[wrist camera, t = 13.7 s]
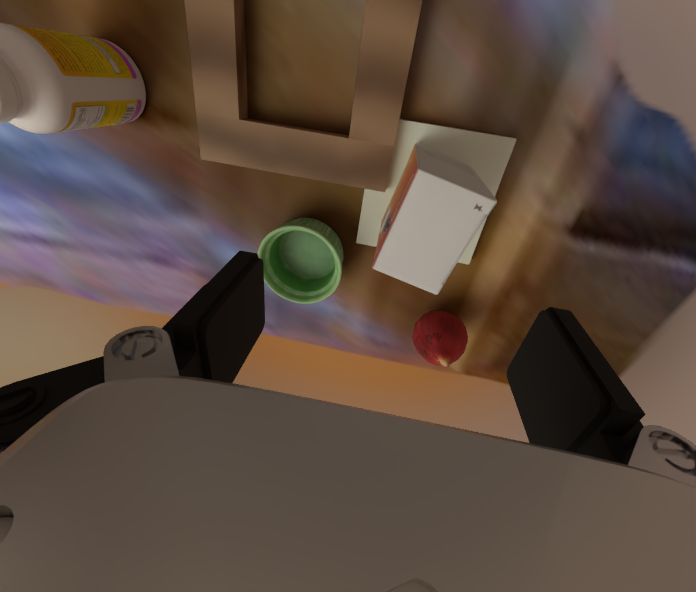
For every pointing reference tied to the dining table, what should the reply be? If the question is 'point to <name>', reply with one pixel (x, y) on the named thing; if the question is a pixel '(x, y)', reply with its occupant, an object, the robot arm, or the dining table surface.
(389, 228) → the small box
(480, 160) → the cream square tile
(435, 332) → the onion
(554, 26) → the dining table surface
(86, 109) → the supplement bottle
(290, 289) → the ramekin
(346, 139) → the holder block
